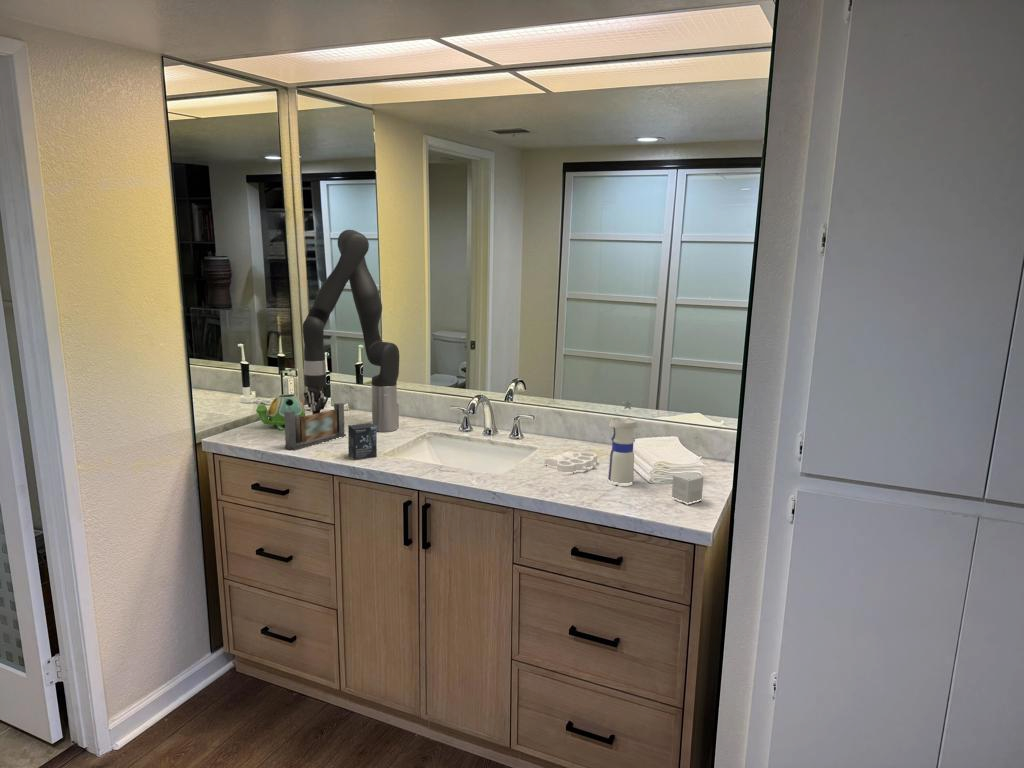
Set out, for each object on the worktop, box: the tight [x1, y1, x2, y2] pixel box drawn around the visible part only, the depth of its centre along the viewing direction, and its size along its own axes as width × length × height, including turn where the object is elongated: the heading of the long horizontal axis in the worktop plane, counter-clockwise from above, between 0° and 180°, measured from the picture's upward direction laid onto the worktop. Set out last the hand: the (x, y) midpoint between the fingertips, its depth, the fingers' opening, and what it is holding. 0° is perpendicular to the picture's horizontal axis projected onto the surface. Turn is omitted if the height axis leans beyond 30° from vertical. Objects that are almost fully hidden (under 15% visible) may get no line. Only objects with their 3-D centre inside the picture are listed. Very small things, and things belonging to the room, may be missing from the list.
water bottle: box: [607, 398, 638, 483], centre depth 210 cm, size 8×8×25 cm
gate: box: [295, 409, 337, 444], centre depth 246 cm, size 18×2×10 cm, turn 146°
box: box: [347, 422, 378, 461], centre depth 231 cm, size 8×6×11 cm
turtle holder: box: [255, 393, 306, 431], centre depth 265 cm, size 12×18×12 cm
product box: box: [671, 471, 704, 503], centre depth 197 cm, size 6×6×7 cm
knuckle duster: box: [543, 451, 598, 472], centre depth 226 cm, size 3×18×15 cm
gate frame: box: [284, 402, 347, 451], centre depth 246 cm, size 24×5×13 cm, turn 146°
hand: (316, 420), depth 251 cm, fingers closed
